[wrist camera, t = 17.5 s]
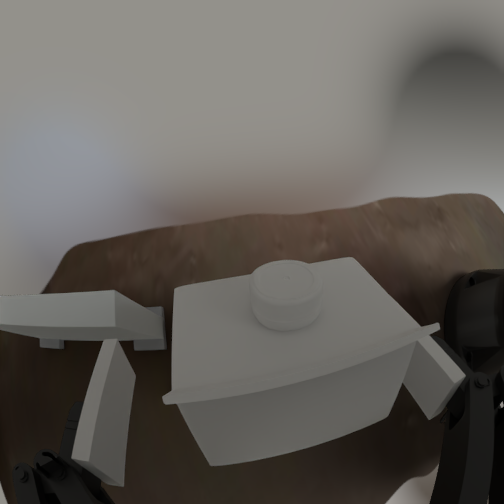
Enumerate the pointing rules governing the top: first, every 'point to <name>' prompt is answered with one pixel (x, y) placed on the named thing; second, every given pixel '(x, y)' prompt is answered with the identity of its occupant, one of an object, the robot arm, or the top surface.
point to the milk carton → (286, 357)
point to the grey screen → (83, 319)
